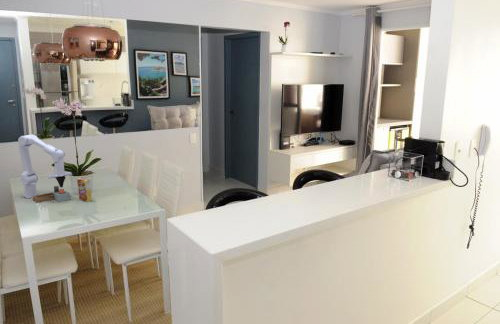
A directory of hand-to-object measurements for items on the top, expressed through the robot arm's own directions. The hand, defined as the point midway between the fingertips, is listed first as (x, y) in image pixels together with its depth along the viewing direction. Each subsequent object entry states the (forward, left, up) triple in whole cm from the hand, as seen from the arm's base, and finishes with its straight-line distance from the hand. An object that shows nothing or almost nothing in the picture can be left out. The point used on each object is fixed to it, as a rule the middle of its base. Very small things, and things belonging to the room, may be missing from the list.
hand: (61, 187), depth 269 cm
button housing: (0, 0, -9) cm, 9 cm away
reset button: (0, 0, -6) cm, 6 cm away
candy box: (+11, +11, -9) cm, 19 cm away
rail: (-9, -6, -9) cm, 14 cm away
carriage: (-9, 0, -8) cm, 12 cm away
